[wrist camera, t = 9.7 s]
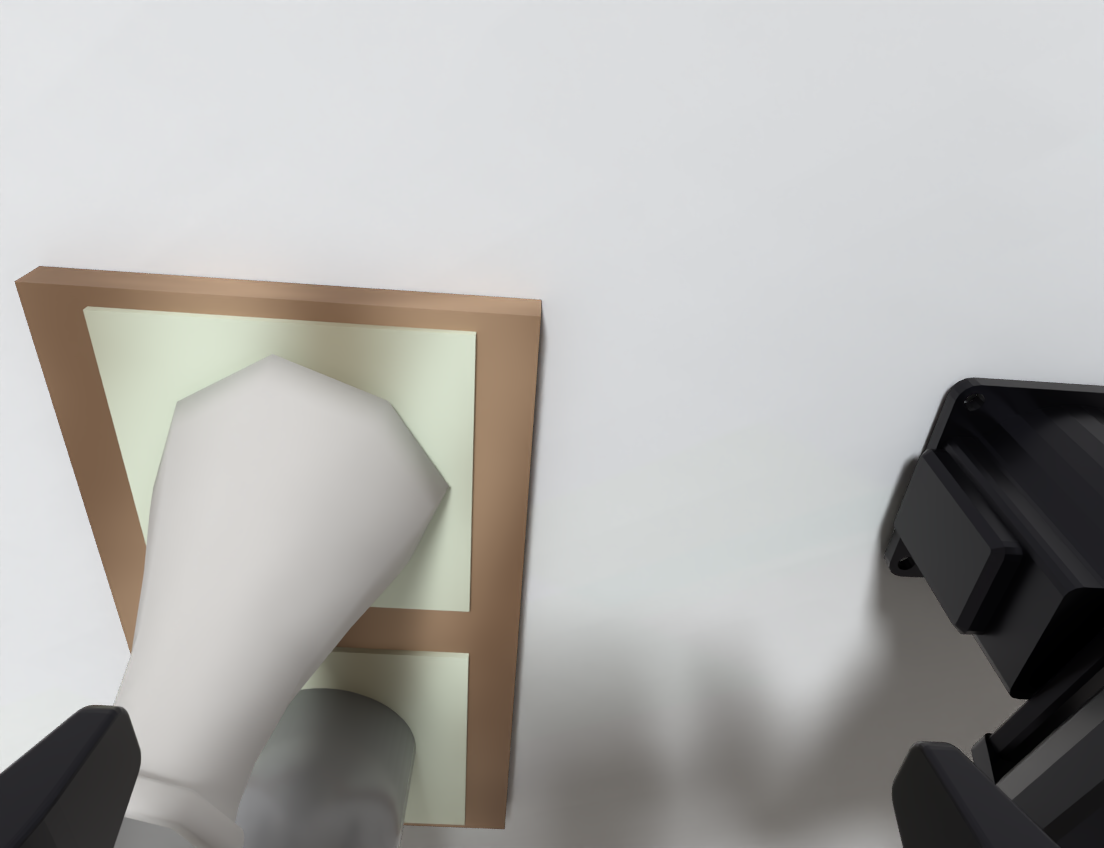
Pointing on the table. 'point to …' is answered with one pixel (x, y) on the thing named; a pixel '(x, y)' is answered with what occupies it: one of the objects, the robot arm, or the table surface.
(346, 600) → the flask
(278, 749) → the grey cylinder
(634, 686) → the table surface
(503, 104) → the table surface
